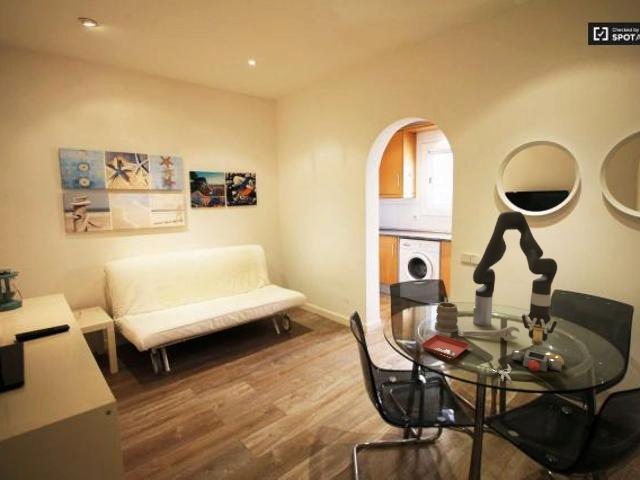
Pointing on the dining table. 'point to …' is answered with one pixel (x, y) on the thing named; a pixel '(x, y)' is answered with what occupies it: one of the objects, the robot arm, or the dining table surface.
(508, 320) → the dining table surface
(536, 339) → the brass knob
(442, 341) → the plant saucer
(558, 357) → the brass elbow
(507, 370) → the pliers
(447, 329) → the tankard
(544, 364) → the valve body
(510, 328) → the wrench
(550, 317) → the robot arm
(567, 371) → the dining table surface
